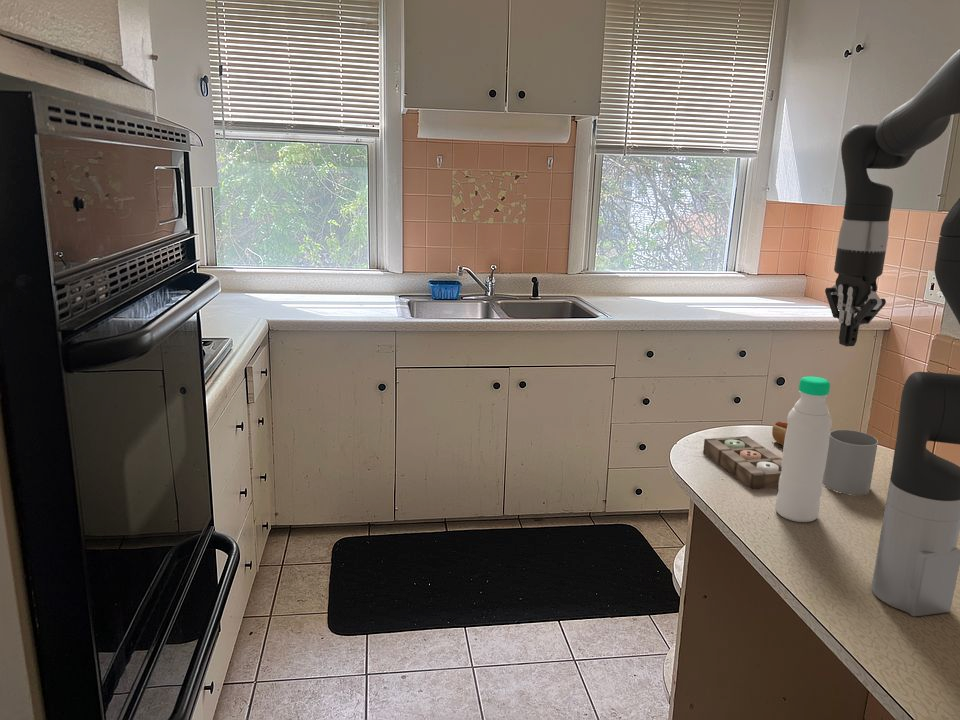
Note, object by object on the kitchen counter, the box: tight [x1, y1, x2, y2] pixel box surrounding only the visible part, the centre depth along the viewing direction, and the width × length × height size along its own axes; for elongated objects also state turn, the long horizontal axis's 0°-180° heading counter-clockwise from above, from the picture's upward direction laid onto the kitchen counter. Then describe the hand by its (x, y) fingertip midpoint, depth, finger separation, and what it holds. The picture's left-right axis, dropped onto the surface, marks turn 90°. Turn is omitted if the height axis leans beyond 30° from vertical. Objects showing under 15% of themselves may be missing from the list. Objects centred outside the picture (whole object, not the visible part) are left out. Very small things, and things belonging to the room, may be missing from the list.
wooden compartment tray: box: [703, 435, 782, 491], centre depth 151 cm, size 19×10×3 cm, turn 12°
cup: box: [822, 429, 879, 496], centre depth 142 cm, size 8×8×10 cm
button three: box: [740, 450, 761, 460], centre depth 151 cm, size 4×4×3 cm
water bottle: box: [774, 375, 833, 523], centre depth 128 cm, size 7×7×25 cm
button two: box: [724, 439, 745, 449], centre depth 156 cm, size 4×4×3 cm
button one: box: [757, 462, 779, 472], centre depth 145 cm, size 4×4×3 cm
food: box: [771, 421, 788, 447], centre depth 160 cm, size 14×6×5 cm, turn 23°
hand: (846, 345), depth 132 cm, fingers closed
